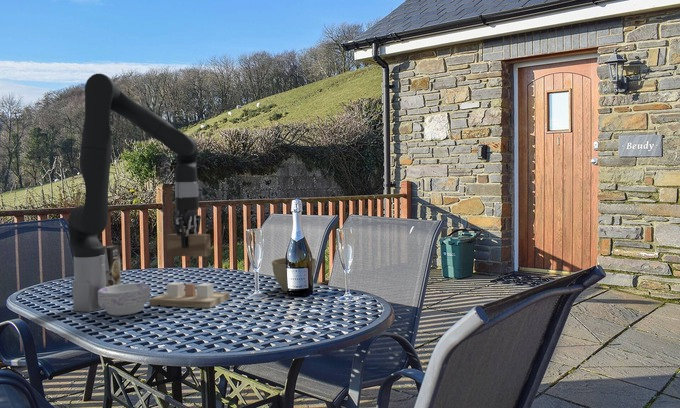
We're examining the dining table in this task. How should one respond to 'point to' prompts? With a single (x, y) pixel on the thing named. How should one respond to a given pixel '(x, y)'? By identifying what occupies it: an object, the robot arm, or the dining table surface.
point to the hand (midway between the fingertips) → (188, 246)
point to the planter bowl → (284, 271)
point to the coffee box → (112, 265)
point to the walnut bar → (196, 242)
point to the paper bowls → (124, 298)
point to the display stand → (190, 296)
